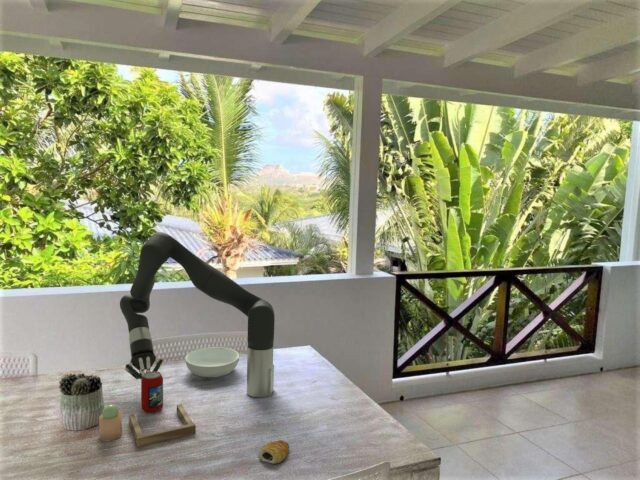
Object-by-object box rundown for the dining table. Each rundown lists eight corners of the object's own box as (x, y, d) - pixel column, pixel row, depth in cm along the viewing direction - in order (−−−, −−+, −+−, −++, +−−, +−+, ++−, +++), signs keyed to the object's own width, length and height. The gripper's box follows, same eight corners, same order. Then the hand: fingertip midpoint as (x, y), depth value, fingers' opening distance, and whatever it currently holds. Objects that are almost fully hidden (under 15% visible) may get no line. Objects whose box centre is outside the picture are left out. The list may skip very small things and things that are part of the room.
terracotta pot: (125, 430, 140) (125, 401, 139) (115, 441, 134) (115, 410, 133) (106, 429, 140) (105, 400, 139) (95, 440, 134) (94, 409, 133)
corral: (128, 422, 145) (128, 414, 144) (182, 411, 153) (182, 403, 153) (137, 447, 131) (137, 438, 131) (195, 433, 140) (195, 425, 140)
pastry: (275, 444, 136) (275, 431, 135) (295, 451, 133) (295, 438, 132) (256, 460, 128) (256, 447, 127) (277, 467, 124) (277, 454, 124)
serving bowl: (173, 374, 183) (173, 357, 182) (214, 359, 200) (214, 343, 199) (210, 388, 171) (210, 370, 170) (249, 371, 188) (250, 354, 187)
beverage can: (156, 415, 149) (156, 379, 148) (137, 412, 151) (136, 377, 149) (167, 406, 156) (167, 371, 155) (148, 403, 157) (148, 369, 156)
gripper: (158, 345, 174) (165, 389, 165) (120, 350, 167) (125, 396, 158) (161, 335, 169) (169, 380, 160) (122, 340, 162) (128, 387, 153)
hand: (147, 388), depth 159 cm, fingers closed
